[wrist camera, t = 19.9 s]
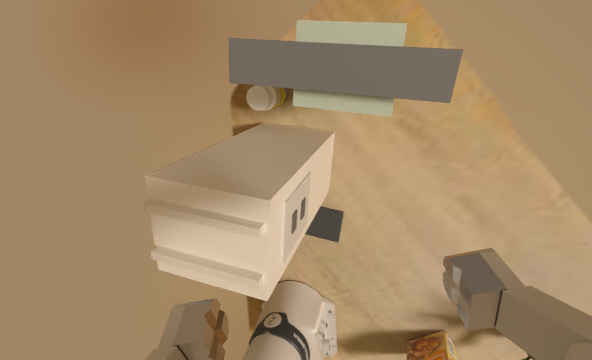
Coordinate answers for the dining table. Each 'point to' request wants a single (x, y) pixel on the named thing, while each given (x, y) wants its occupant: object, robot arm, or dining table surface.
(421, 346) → the candy box
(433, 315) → the dining table surface
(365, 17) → the dining table surface
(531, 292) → the robot arm
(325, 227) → the plate
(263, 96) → the supplement bottle
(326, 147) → the outlet wall
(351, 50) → the bar
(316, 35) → the pale green block
